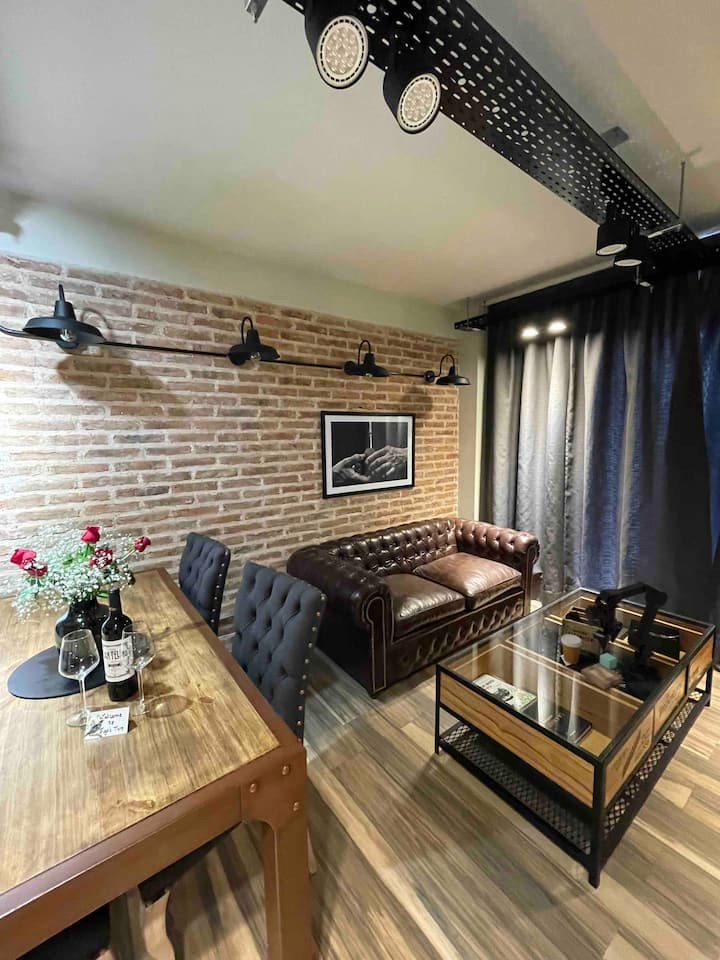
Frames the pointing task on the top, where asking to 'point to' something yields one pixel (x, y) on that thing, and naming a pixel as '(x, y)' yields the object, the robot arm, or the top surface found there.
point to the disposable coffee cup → (571, 648)
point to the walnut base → (601, 676)
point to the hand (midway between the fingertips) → (607, 646)
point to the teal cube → (608, 661)
